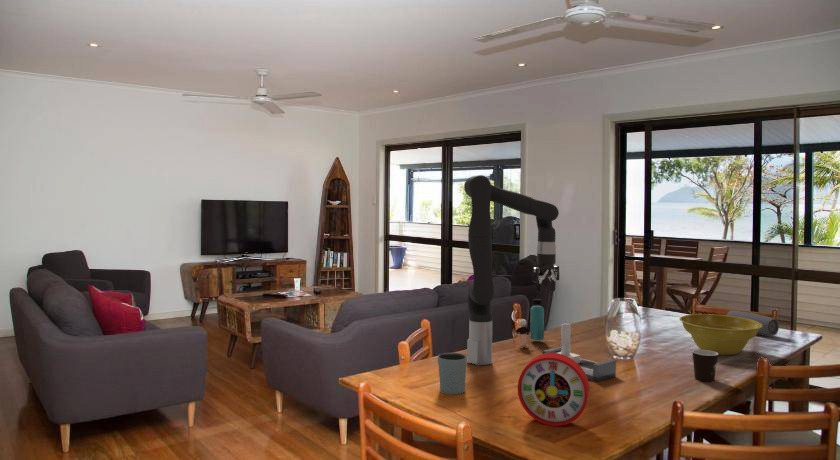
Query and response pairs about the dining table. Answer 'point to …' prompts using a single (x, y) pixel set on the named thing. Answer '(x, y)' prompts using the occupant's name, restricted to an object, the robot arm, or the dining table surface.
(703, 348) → the planter bowl
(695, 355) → the coffee mug
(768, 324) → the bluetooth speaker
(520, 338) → the grandmother figurine
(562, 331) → the carriage
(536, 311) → the beverage bottle
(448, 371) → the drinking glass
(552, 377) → the toy clock
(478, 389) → the dining table surface
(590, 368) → the gray tray
